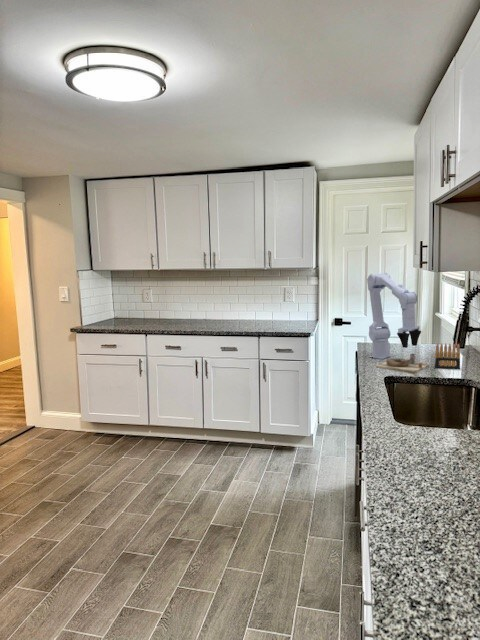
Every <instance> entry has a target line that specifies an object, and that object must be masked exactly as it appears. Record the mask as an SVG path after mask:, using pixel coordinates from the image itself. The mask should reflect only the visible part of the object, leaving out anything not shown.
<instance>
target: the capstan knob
mask: <svg viewBox="0 0 480 640" xmlns="http://www.w3.org/2000/svg"><path fill="white" fill-rule="evenodd" d="M415 354H416V353H410V356H409V359H405V358H389V359H387V360H386V361H387V365H390V366H397V367H402V366H408V365H409V362H411V363H414V362H415V357H416V356H415ZM415 363H416V362H415Z"/></svg>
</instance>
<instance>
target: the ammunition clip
mask: <svg viewBox="0 0 480 640" xmlns="http://www.w3.org/2000/svg"><path fill="white" fill-rule="evenodd" d="M435 346H436V347H435V351H434V352H435V353H434V356H435V357H434V359H435V360H434V369H439V370H442V369H443V370H461V352H460V351H461V350H460V348H461V346H460V344H459V343H457V345H456V344H455V343H453V345H451V343H449V344H448V346H447V342H446V343H445V344H444V345H443V343H442V342H441V343H440V346H439V343H438V342H437V343H436V345H435Z"/></svg>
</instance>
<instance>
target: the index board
mask: <svg viewBox="0 0 480 640" xmlns="http://www.w3.org/2000/svg"><path fill="white" fill-rule="evenodd" d="M375 367H376V368H377V369H383V370H391V371H396V372H397V371H398V372H402V373H408V374H416V373H418V372H421V371H422V370H426V369H427V368H430V364H427V363H423V362H414V363H411V362H409V365H408V366H402V367H397V366H390V365H387V360H386V361H383V362H381V363H378V364H376V365H375Z"/></svg>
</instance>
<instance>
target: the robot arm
mask: <svg viewBox="0 0 480 640" xmlns="http://www.w3.org/2000/svg"><path fill="white" fill-rule="evenodd" d="M366 280H367V281H366V283H367V289H368V292H369V297H370V298H369V299H370V303H371V304H370V307H371V313H372V323H371V324H370V325H369V326H368V327H369V330H368V337H369V339H370V340H371V341H372V344H371V345H372V349H371V351H372V354H371V355H369V356H368V357H369V358H372V357H373V359H380V360H383V359H386V358H389V357H392V354H391V350H390V349H391V343H390V342H389V339H390V337H391V330H390V328H389V324H388V323H386V322H385V320H384V313H383V305H382V296H381V292H382V290H384V289H385V288H388V289H389V290H390V291H391V293H392V295H393V296H394V297H396V298H397V300H398V302H399V304H400V309H401V314H402V315H401V316H402V317H401V318H402V321H401V322H402V327H400V328H397V331H398V332H396V335H397V336H398V338H399V339H400V343H401V346H402V348H404V349H405V348H406V349H407V348H408V346H409V337H410V340H411V346H415V347H416V346H418V343H419V342H418V341H419V338H420V336H421V333H422V330H421V326H420V325H416V304H417V302H418V295H417V294H416V292H414V291H409V289H407V288H405V287H404V286H403V284H397V283H396V282H395V281H394V280H393V279H392V278H391V276H390V274H388V273H387V272H384V273H369V275H368V277H367V278H366Z"/></svg>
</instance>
